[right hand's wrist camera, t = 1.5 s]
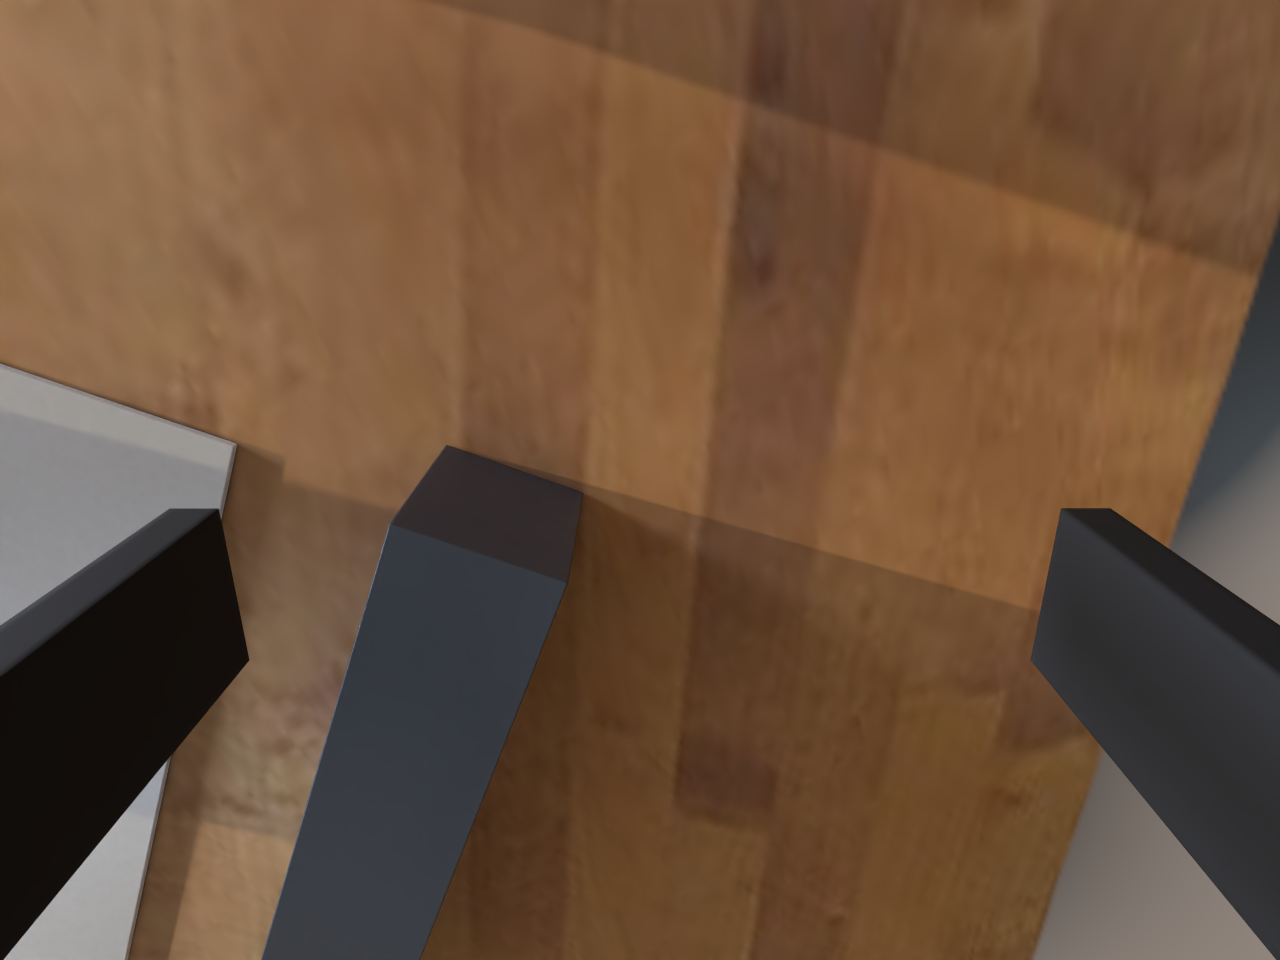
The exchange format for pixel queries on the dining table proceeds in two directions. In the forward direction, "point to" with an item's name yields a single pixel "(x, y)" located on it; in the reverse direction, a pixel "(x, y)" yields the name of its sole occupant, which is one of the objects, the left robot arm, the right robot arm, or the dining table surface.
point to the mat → (63, 545)
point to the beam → (425, 707)
